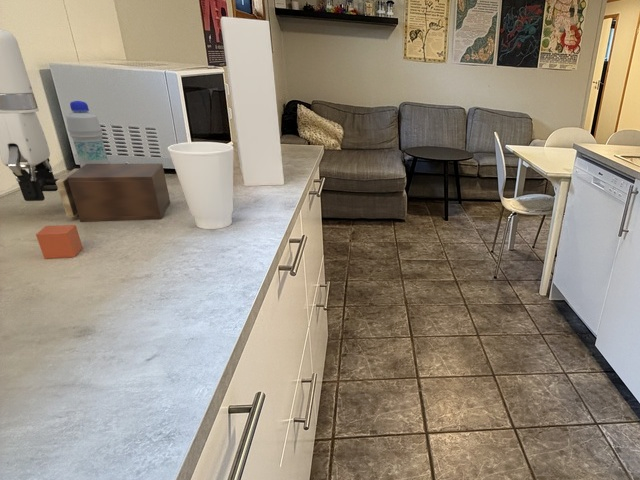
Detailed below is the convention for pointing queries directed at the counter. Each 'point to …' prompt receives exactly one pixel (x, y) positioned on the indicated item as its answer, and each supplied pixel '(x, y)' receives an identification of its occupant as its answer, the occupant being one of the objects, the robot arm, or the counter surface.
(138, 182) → the cabinet
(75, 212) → the drawer
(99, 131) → the bottle
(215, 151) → the cup
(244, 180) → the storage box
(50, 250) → the block
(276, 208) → the counter surface
